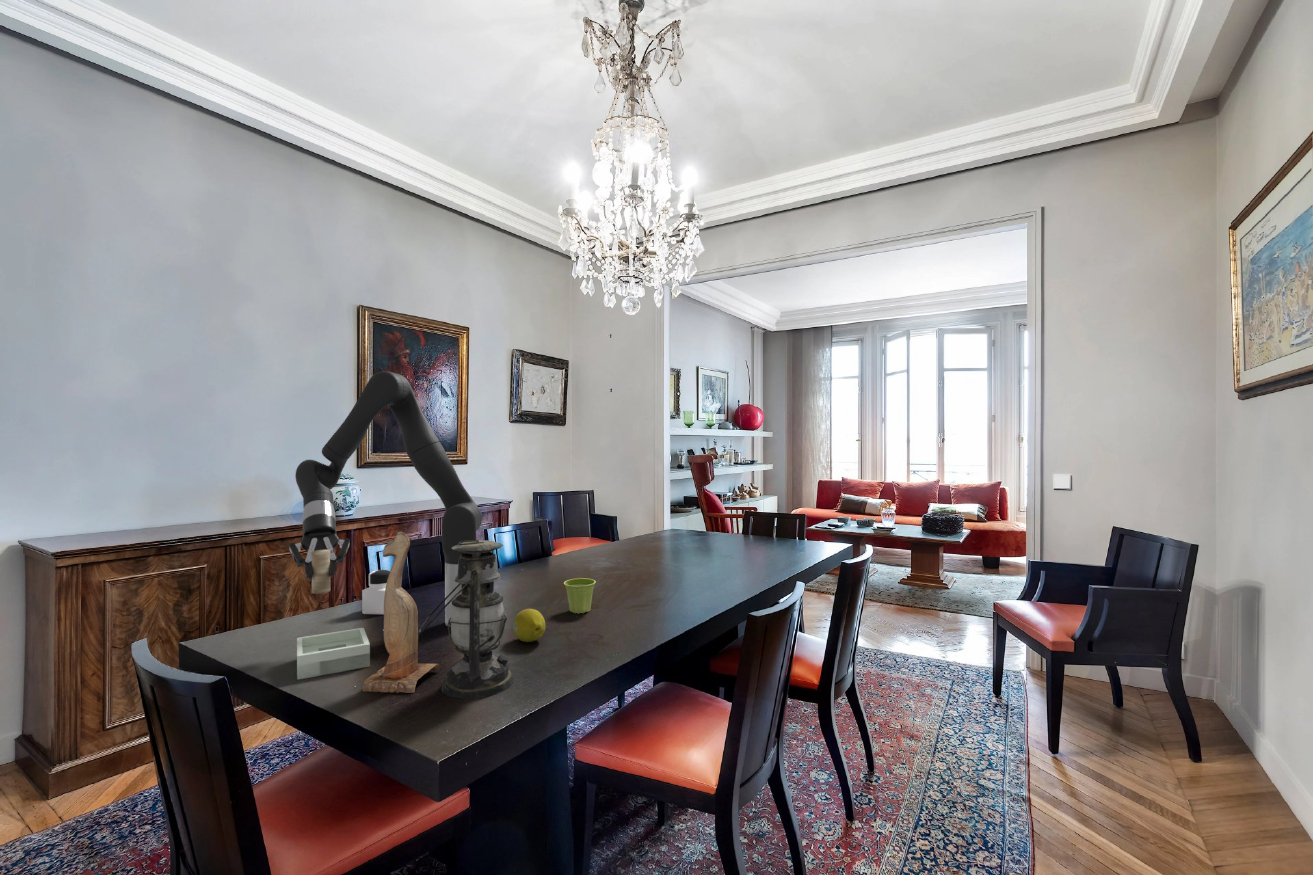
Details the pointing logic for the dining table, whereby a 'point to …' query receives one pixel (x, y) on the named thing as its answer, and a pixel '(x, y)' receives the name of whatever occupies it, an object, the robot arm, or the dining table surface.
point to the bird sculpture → (399, 630)
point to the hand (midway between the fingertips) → (321, 576)
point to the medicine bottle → (375, 593)
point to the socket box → (332, 653)
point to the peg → (320, 571)
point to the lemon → (529, 625)
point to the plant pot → (579, 594)
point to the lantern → (476, 625)
